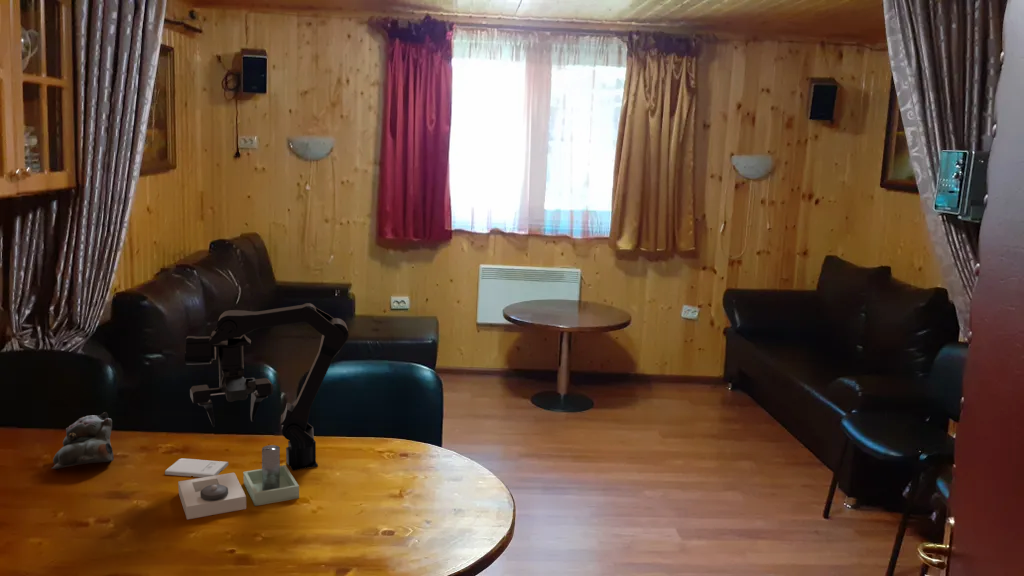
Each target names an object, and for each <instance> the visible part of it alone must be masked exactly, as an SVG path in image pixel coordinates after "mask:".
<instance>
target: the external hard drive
mask: <svg viewBox="0 0 1024 576" xmlns="http://www.w3.org/2000/svg"><path fill="white" fill-rule="evenodd" d="M228 466H229V461H221V460H219V461H218V460H207V459H198V458H197V459H196V458H179V459H177V460H176V461H175V462H174V463H172V465H170V466H169V467H168V468H167V469H165V471H164V475H166V476H179V477H180V476H181V477H191V476H193V477H194V478H203V477H209V476H216V475H220V474H221V472H222V471H224V470H225V469H226V468H227V467H228Z"/></svg>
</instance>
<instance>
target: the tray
mask: <svg viewBox="0 0 1024 576" xmlns="http://www.w3.org/2000/svg"><path fill="white" fill-rule="evenodd" d="M242 473H243V485H244V486H245V487H244V488H245V489H246V491H247V493H248V494H249V497H250V499H251V501H252V503H253V506H254V507H257V506H263V505H268V504H272V503H273V504H274V503H279V502H285V501H289V500H296V499H299V498H300V485H299V484H298V482H297V481H296V479H295V477H294V476H293V475H292V473H291V472H290V470H289V468H288V467H287V465H286V464H284V465H283V464H282V465H280V488H277V489H271V490H266V491H263V490H262V468H260V469H259V468H258V469H253V470H246V471H243V472H242Z"/></svg>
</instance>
